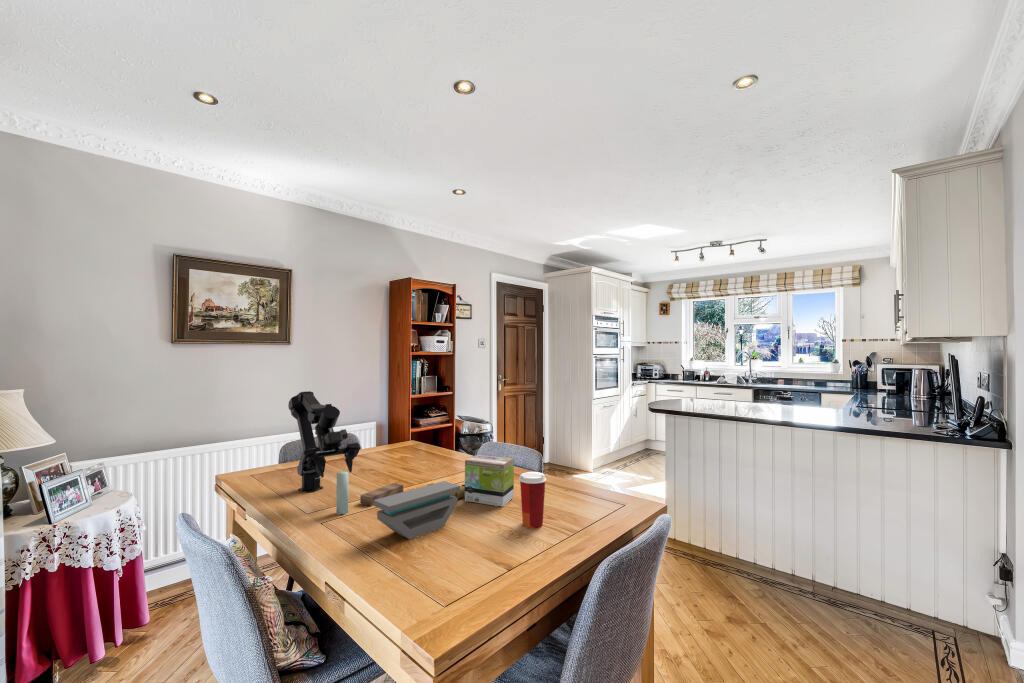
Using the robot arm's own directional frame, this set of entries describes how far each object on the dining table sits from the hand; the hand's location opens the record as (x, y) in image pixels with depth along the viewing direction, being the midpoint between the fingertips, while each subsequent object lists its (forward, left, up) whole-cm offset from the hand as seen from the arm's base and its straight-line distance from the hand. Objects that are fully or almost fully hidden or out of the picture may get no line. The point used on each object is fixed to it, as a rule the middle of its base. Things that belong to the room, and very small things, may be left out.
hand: (337, 474), depth 148 cm
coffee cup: (+63, +18, -12) cm, 67 cm away
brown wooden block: (+5, +15, -12) cm, 20 cm away
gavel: (+21, +30, -12) cm, 39 cm away
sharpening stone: (+35, -1, -12) cm, 37 cm away
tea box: (+40, +31, -12) cm, 53 cm away
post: (+4, -2, -12) cm, 13 cm away
